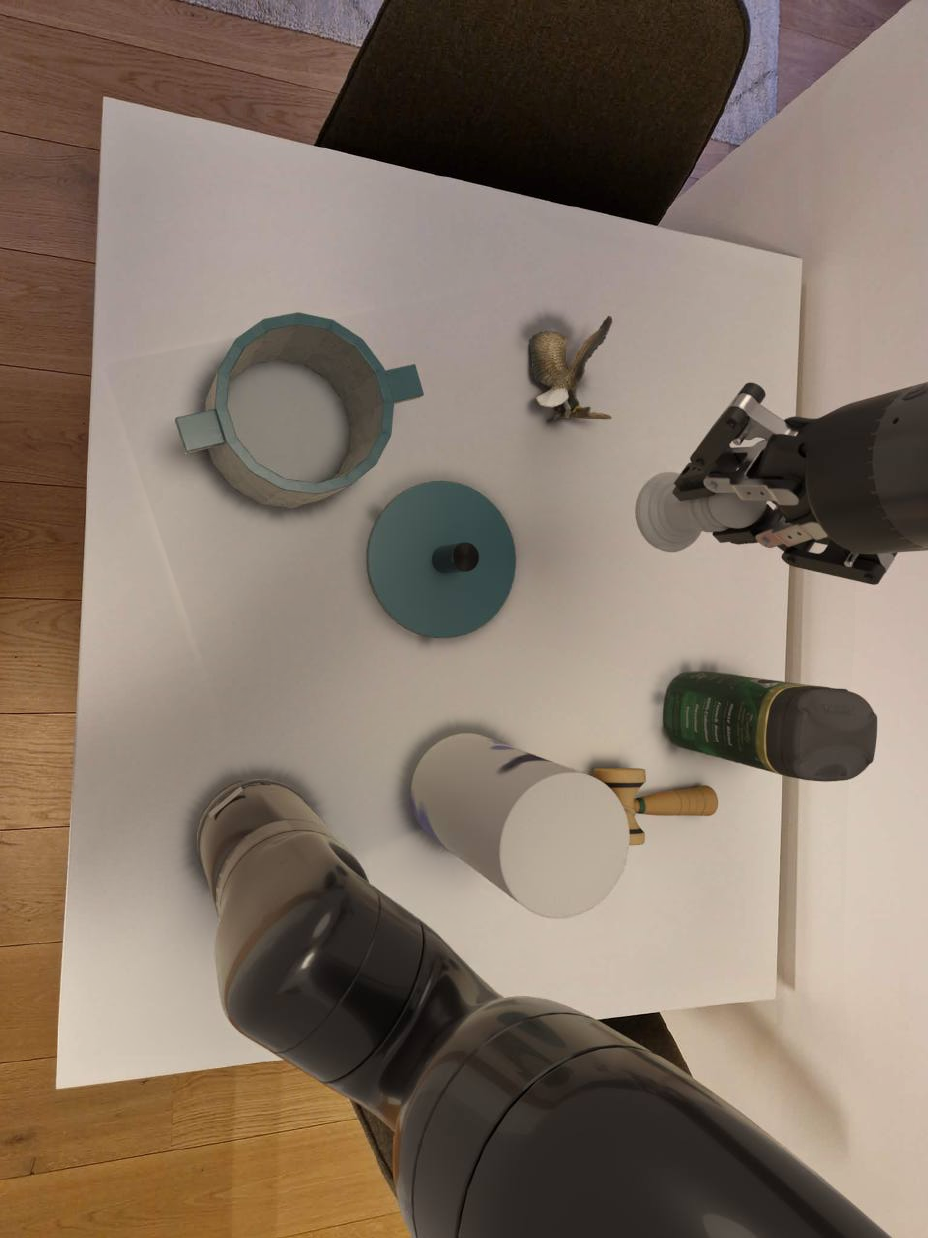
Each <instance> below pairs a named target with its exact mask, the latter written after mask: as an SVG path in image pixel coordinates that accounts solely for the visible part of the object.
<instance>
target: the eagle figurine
mask: <svg viewBox="0 0 928 1238" xmlns="http://www.w3.org/2000/svg"><path fill="white" fill-rule="evenodd" d="M612 324H613V317H612V315H608V316H606V318H605V319H604V320H603V321H602V324H601V325H599V328H598V330H596V331H594V333H592V334H591V335H590V336H588V338H587V339H586V340H584V342H583V343H582V345H581V347H580V348H579V350H578V352H577V353H576V355H575V357H574V360H573V362H572V364H571V367H570V369H569V365H568V359H567V357H568V356H567V353H568V350H567V349H568V344H569V340H570V337H569V336H568V335H565V334H563V333H559V332H557V331H553V330H544V331H539V332H538V333H535V334H532V336H531V338H529V343H528V347H529V353H530V355H531V356H530V358H531V363H532V364H531V365H530V366H531V368H530V369H531V370H530V371H531V373H532V376H533V377H534V380H535V381H536V382H537V383H538V384H540V383H541V384H542V385H546V386H547V388H549V390H547V391H545V392H544V393H542V394H540V395H538V396H536V401H537V403H538V404H539V406H541V407H545V408H555V407H556V408H557V410H556V411H555V412H554V415H553V418H552V419H553V420H555V421H557V420H558V419H562V418H563V419H565V420H568V419H582V420H612V418H613V417H612V416H611V415H610V414H607V413H603V412H595V411H593V412H591V409H592V408H591V406H585V407H582V406H581V405H580V402H579V400H578V398H577V390H578V388H579V386H580V384H581V380H582V378H583V376H584V374H585V371H586V370H585V367H586V363H587V362H588V360H589V359H590V358H592V357H593V354H594V353H595V351H597V350H598V348H599V347H600V346H601V345H603V344H604V341H605V340H606V339H607V335H608V333H609V332H610V328H611V327H612ZM565 402H567V403H568V406H569V407H565Z"/></svg>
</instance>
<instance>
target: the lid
mask: <svg viewBox="0 0 928 1238" xmlns="http://www.w3.org/2000/svg"><path fill="white" fill-rule="evenodd" d="M367 543H368V544H367V549H366V565H367V567H366V568H367V574H368V578H369V582H370V585H371V588H372V591H373V593H374V595H375V597H376V599H377V601H378V603H379V604H380V606H381V607H382V608H383V609H384V611H385V612H386V613H387V614H388V615H389V616H390V617H391V618H392V620H394V621H395V622H396V623H397V624H398V625H400V626H402V627H404V628H405V629H407V630H408V631H411V632H413V633H415V634H418V635H421V636H424V637H428V638H435V639H451V638H458V637H461V636H465V635H468V634H470V633H472V632H475V631H476V630H478V629H481V628H482V627H483V626H485V625H486V624H487V623H488V622H490V621H492V619H493V618H494V617H495V616H496V615H497V614H498V613H499V611H500V610H501V609H502V607H503V606H504V605H505V602H506V601H507V599H508V597H509V595H510V592H511V590H512V588H513V584H514V580H515V577H516V569H517V554H516V553H517V552H516V548H515V547H516V546H515V541H514V537H513V534H512V532H511V529H510V527H509V524H508V522H507V521H506V519H505V517H504V515H503V514H502V512H501V511H500V509H498V508H497V506H496V505H495V504H494V503H493V502H492V501H491V500H490V499H489V498H488V497H487V496H486V495H484V494H482V493H481V492H480V491H479V490H476V489H474V488H473V487H470V486H467V485H465V484H462V483H460V482H459V483H458V482H454V481H446V480H435V481H427V482H423V483H419V484H416V485H414V486H412V487H409V488H408V489H407V488H406V490H404V491H402V492H400V493H399V494H397V495H396V496H395V497H393V499H391V501H389V503H387V504H386V506H385V507H384V508H383V509H382V511H381V512H380V513H379V515H378V517H377V518H376V520H375V521H374V525H373V527H372V528H371V532H370V535H369V537H368V542H367Z"/></svg>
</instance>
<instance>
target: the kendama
mask: <svg viewBox="0 0 928 1238" xmlns="http://www.w3.org/2000/svg"><path fill="white" fill-rule="evenodd" d="M592 777H594V778H597V779H598V780H600V781H602V782H603V783H604V784H606V785H607V786H608V787H609V788H610V789H611V790H612V791H613V792H614V793H615V794H616V796H617V797H618V799H619V800H620V802H621V804H622V806H623V808H624V810H625V813H626V816H627V820H628V825H629V834H630V842H629V846H641V845H644V844H645V839H646V832H645V831H644V830H643V829H642V828H641V826H640V825H639V823H638V822H637V819H636V814H637V815H647V816H663V817H666V816H667V817H668V816H669V817H673V816H674V817H676V816H682V817H683V816H688V817H689V816H691V817H692V816H693V817H694V816H695V817H696V816H698V817H711V816H713V815H714V814H716V812H717V810H718V808H719V798H718V794H717V792H716V791H715V789H714V788H713V787H712V786H710V785H707V784H703V785H697V786H693V787H688V788H687V787H686V788H681V789H673V790H665V791H659V792H655V793H654V792H653V793H649V794H646V795H641V796H639V797H636V796H637V794H638V793H639V791H640V788H641V787H642V786H643V785H645V783H646V781H647V778H646V769H645V768H639V767H636V768H634V767H596V768H594V769H593V776H592Z"/></svg>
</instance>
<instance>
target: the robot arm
mask: <svg viewBox="0 0 928 1238" xmlns="http://www.w3.org/2000/svg"><path fill="white" fill-rule="evenodd" d="M766 394H767V393H766V391H765V390H764V388H763V387H762V386H761V385H759V384H757V383H755V382H746V383H745V384H744V385H743V387H742V388H741V389H740V390H739V392H738V393H737V394H736V395H735V397H733V399H732V401H730V403H729V405H728V406H727V407H726V408H725V410H724V411H723V412H722V414H721V415H720V416H719V417H718V419H717V420H716V421H715V422H714V424H713V425H712V426H711V428H710V429H709V430H708V431H707V433H706V434H705V436H704V437H703V439H702V440H701V442H700V443H699V444H698V446H697V447H696V449H695V450H694V451H693V452H692V454H691V455H690V457H689V460H690V462H688V463H687V464H686V465H685V466H684V468H683V470H681V472H680V473H679V474H680V475H679V476H678V478H677V479H676V481H675V482H674V484H675V485H676V487H675V488H674V490H673V491H672V493H673V495H674V496H675V497H676V498H677V499H678V500H679V501H686V500H691V499H696V498H702V497H707V496H712V495H715V494H716V493H736V494H737V495H738V497H739V498H740V499H741V500H748V501H767V502H770V503H772V504H773V505H775V508H774V509H773V508H772V506H770V504H769V503H767V504H766V508H765V510H764V512H763V514H762V515H761V517H760V518H759V519H758V520H757V521H756V522H755V523H753V524H752V525H750V526H747V527H744V528H731V527H730V528H728V529H727V530H724V531H715V532H711V533H712V536H713V538H714V539H716V540H717V541H718V542H719V544H724V543H731V544H734V545H738V546H739V545H740V546H741V545H748V544H749V545H750V544H757V543H758V544H759V545H761V546H762V547H765V548H766V549H767V548H768V549H774V548H775V547H776V548H778V549H780V550H781V551H782V554H781V559H782V561H783V562H784V563H785V564H787V565H789V566H791V567H793V568H798V569H802V570H806V571H812V572H815V573H818V574H819V573H820V574H825V575H827V576H832V577H837V578H842V579H846V580H850V581H854V582H859V583H863V584H868V585H878V584H879V583H880V582H881V580H882V578H883V577H884V576H885V574H887V572H888V570H889V569H890V567H891V565H892V564H893V563H894V561H895V558H896V556H897V555H898V553H909V552H912V553H913V552H925V551H928V381H926V382H922V383H918V384H914V385H910V386H908V387H904V388H900V389H896V390H893V391H890V392H886V393H883V394H878V395H875V396H872V397H867V398H865V399H861V400H857V401H853V402H850V403H848V404H845V405H842V406H840V407H838V408H835V409H834V410H832V411H829V412H828V413H827V414H824V415H822V416H820V417H817V418H812V417H811V418H809V417H802V416H790V417H787V418H785V419H783V418H781V417H780V416H778V415H777V414H775V413H774V412H772V411H771V410H769V409H768V408H767V407H766V406H764V405H762V403H763V401H764V400H765V398H766ZM757 438H759V439H762V440H759V441H758V442H756V443H755V444H753V445H752V446H741V445H742V444H743V442H744V441H752V440H754V439H757ZM732 443H733V445H735V447H731V444H732ZM737 446H738V447H737ZM815 544H820V545H824V546H826V547H825V548H824V550H823V551H822V552H819V553H818V552H817V553H816V552H812V551H811V549H812V548H813V546H814V545H815ZM199 820H200V821H199V823H198V827H197V831H196V850H197V855H198V858H199V862H200V864H201V867H202V868H203V871H204V874H205V877H206V881H207V884H208V887H209V891H210V894H211V898H212V900H213V901H212V902H213V903H214V908H215V911H216V913H217V917H218V919H219V921H218V925H217V929H216V933H215V941H214V960H215V969H216V975H217V986H218V995H219V1000H220V1004H221V1009H222V1011H223V1013H224V1015H225V1017H226V1019H227V1020H228V1022H229V1023H230V1024H231V1026H232V1027H233V1028H234V1029H235V1030H236V1031H237V1032H239V1033H240V1034H241V1035H242V1036H244V1037H245V1038H247V1039H249V1040H250V1041H252V1042H254V1043H255V1044H257V1045H259V1046H260V1047H262V1048H264V1049H265V1050H267V1051H269V1052H270V1053H271V1054H273V1055H275V1056H277V1057H278V1058H280V1059H282V1060H283V1061H285V1062H286V1063H288V1064H289V1065H291V1066H292V1067H294V1068H296V1069H298V1070H299V1071H301V1072H302V1073H304V1074H305V1075H307V1076H309V1077H311V1078H312V1079H314V1080H316V1081H317V1082H319V1083H320V1084H322V1085H323V1086H325V1087H326V1088H328V1089H330V1090H332V1091H333V1092H335V1093H337V1094H339V1095H341V1096H343V1097H344V1098H346V1099H349V1100H350V1101H353V1102H354V1103H356V1104H357V1105H360V1106H361V1107H362V1108H364V1109H365V1110H367V1111H368V1112H370V1113H371V1114H373V1116H375V1117H377V1119H379V1120H380V1121H381V1122H382V1123H383V1124H385V1125H386V1126H387V1127H388V1128H389V1129H390V1130H391V1131H392V1132H393V1133H394V1135H393V1140H392V1177H393V1178H392V1179H393V1183H394V1184H393V1185H394V1188H395V1195H396V1199H397V1205H398V1208H399V1211H400V1214H401V1215H400V1216H401V1217H402V1219H403V1222H404V1224H405V1226H406V1229H407V1231H408V1233H409V1236H410V1238H893V1237H892V1236H891V1235H889V1234H888V1233H887V1232H886V1231H885V1230H884V1229H883V1228H881V1226H879V1225H878V1224H877V1223H876V1222H875V1221H874V1220H872V1219H871V1218H870V1217H869V1216H868V1215H867V1214H866V1213H864V1211H862V1210H861V1209H860V1208H859V1207H857V1205H856V1204H854V1203H853V1202H852V1201H851V1200H849V1199H848V1198H847V1196H845V1195H844V1194H842V1193H841V1192H840V1191H839V1190H838V1189H836V1188H835V1186H833V1185H832V1184H831V1183H829V1182H828V1181H827V1180H826V1179H824V1178H823V1176H821V1175H820V1174H819V1173H818V1172H817V1171H815V1169H813V1168H812V1167H810V1166H809V1165H808V1164H807V1163H806V1162H804V1161H803V1160H802V1159H801V1158H799V1157H798V1156H797V1155H796V1154H794V1153H793V1152H792V1151H791V1150H790V1149H788V1148H787V1147H786V1146H785V1145H784V1144H782V1143H781V1142H780V1141H779V1140H777V1139H776V1138H775V1137H773V1136H772V1135H771V1134H770V1133H768V1132H767V1131H765V1130H764V1129H763V1128H762V1127H761V1126H759V1125H758V1124H757V1123H756V1122H754V1121H753V1120H752V1119H751V1118H749V1117H748V1116H746V1114H744V1113H743V1112H742V1111H740V1110H739V1109H737V1108H736V1107H734V1106H733V1105H732V1104H730V1103H729V1102H728V1101H727V1100H725V1099H724V1098H723V1097H721V1096H720V1095H718V1094H717V1093H715V1092H714V1091H713V1090H711V1089H710V1088H708V1087H707V1086H705V1085H704V1084H703V1083H701V1082H700V1081H698V1080H697V1079H695V1078H694V1077H692V1076H691V1075H690V1074H688V1072H685V1071H684V1070H683V1069H682V1068H680V1067H678V1066H677V1065H676V1064H674V1063H672V1062H670V1061H669V1060H667V1059H666V1058H663V1057H662V1056H661V1055H658V1054H656V1053H655V1052H653V1051H651V1050H650V1049H648V1048H646V1047H644V1046H643V1045H641V1044H639V1043H638V1042H636V1041H634V1040H632V1039H631V1038H629V1037H627V1036H625V1034H622V1033H620V1032H619V1031H616V1030H615V1029H613V1028H611V1027H610V1026H608V1025H607V1024H605V1022H602V1021H600V1020H598V1019H596V1018H594V1017H592V1016H590V1015H588V1014H586V1013H584V1012H582V1011H580V1010H577V1009H575V1008H573V1007H571V1006H568V1005H566V1004H564V1003H560V1002H557V1001H555V1000H551V999H547V998H542V997H534V996H528V995H527V996H526V995H523V996H521V995H519V996H518V995H517V996H507V997H505V996H503V995H502V994H500V993H499V992H498V991H496V990H495V989H494V988H493V986H491V985H490V984H489V983H488V982H487V981H485V980H484V979H483V978H482V977H481V976H480V975H479V974H478V973H477V972H476V971H475V970H473V968H471V967H470V965H468V963H467V962H466V961H465V960H464V959H463V958H462V956H460V955H459V953H457V952H456V951H455V949H453V948H452V947H451V945H449V944H448V943H447V941H446V940H445V939H444V938H442V936H441V935H440V934H439V933H437V932H436V931H435V930H434V929H433V928H432V927H431V926H429V925H428V924H427V923H425V922H424V921H423V920H422V919H420V918H419V917H417V916H416V915H415V914H413V913H412V912H411V911H409V910H408V909H406V907H404V906H403V905H401V904H399V903H398V902H397V901H395V900H394V899H392V898H391V897H390V896H389V895H387V894H386V893H384V892H383V891H381V890H380V889H379V888H377V887H376V886H375V885H372V884H371V883H370V881H369V878H368V875H367V873H366V871H365V869H364V867H363V866H362V865H361V863H360V862H359V860H358V859H357V858H356V856H355V855H354V854H353V853H352V852H351V851H350V850H349V849H348V848H347V847H346V845H345V844H344V843H343V842H342V841H341V840H340V839H339V838H338V837H337V836H336V835H335V834H334V833H333V831H332V830H330V828H329V827H328V826H327V825H326V824H325V823H324V822H323V821H322V820H321V818H320V817H319V816H318V815H317V814H316V813H315V811H314V810H312V808H311V807H310V805H309V803H308V802H307V801H306V800H305V798H304V797H302V795H301V794H300V793H299V792H298V791H296V790H295V788H292V787H291V786H289V785H287V784H286V783H283V782H280V781H278V780H274V779H268V778H254V779H248V780H244V781H242V780H241V781H238V782H236V783H234V784H231V785H230V786H228V787H226V788H225V789H223V790H222V791H221V792H220V793H218V794H217V796H215V797H214V798H213V799H212V800H211V801H210V803H209V804H208V806H206V809H205V811H204V812H203V814H202V815H201V818H200V819H199Z"/></svg>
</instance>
